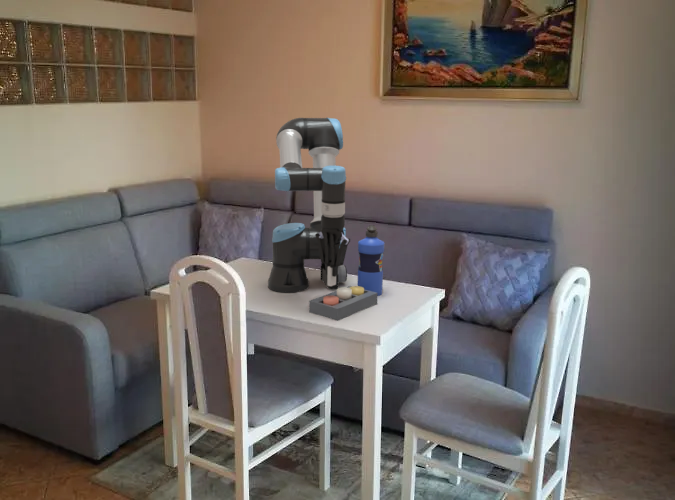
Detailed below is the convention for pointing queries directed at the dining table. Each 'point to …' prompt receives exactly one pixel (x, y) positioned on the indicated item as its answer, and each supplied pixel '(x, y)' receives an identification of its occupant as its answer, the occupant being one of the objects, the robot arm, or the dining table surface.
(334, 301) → the coral button
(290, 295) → the dining table surface
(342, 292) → the ivory button
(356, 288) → the ochre button
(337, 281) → the camera
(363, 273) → the water bottle
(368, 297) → the console
